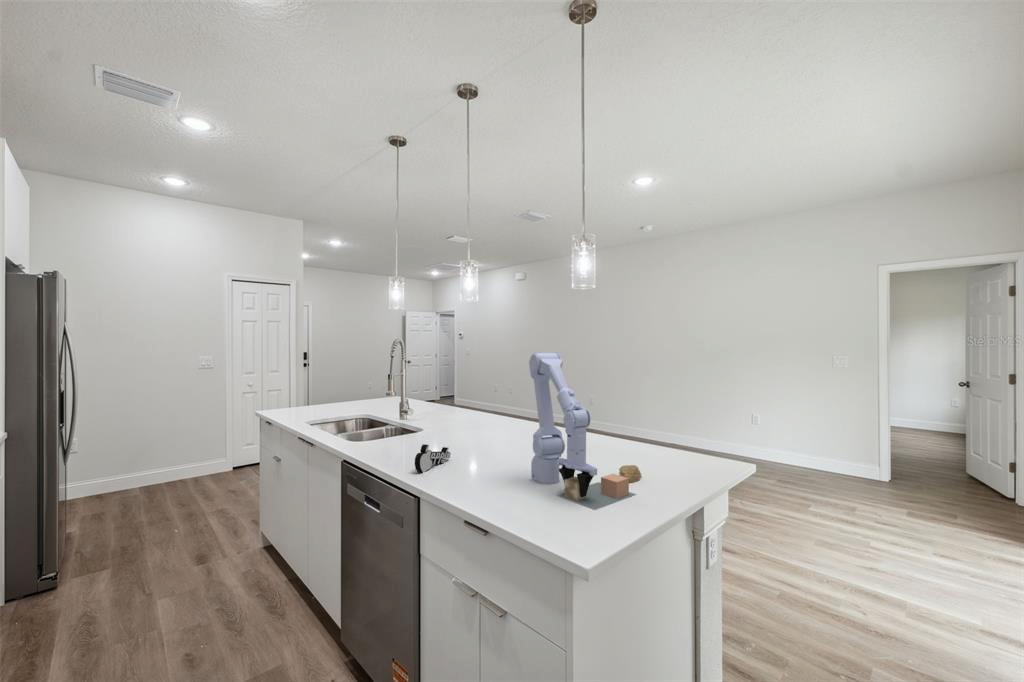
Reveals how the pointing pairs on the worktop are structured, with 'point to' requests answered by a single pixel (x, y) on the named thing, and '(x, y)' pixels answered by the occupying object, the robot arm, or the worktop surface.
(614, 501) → the slate mat
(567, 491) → the maple block
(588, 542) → the worktop surface
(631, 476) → the stone tool
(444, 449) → the logo
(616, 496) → the terracotta brick
